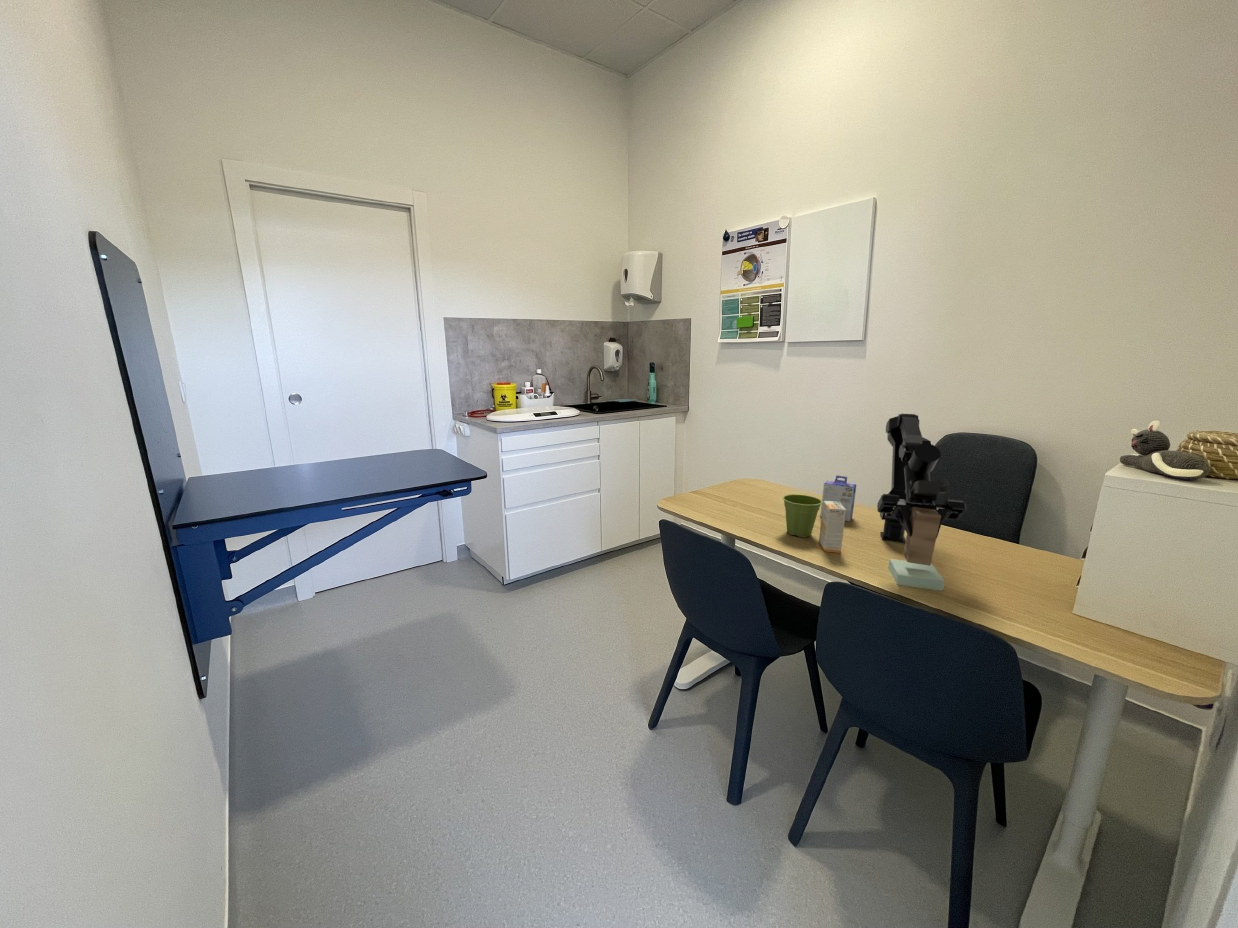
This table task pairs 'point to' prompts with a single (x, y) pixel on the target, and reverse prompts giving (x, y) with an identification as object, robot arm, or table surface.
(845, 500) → the ink cartridge box
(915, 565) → the sage green base block
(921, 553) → the walnut block
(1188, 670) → the table surface
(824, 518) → the supplement box
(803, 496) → the plant pot
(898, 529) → the robot arm
